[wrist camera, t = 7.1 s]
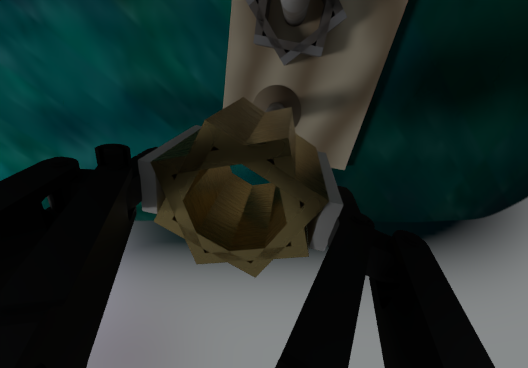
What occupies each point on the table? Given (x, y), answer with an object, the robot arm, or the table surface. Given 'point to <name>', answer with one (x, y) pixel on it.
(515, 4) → the table surface
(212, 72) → the table surface
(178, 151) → the brass gear
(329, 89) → the gear board
